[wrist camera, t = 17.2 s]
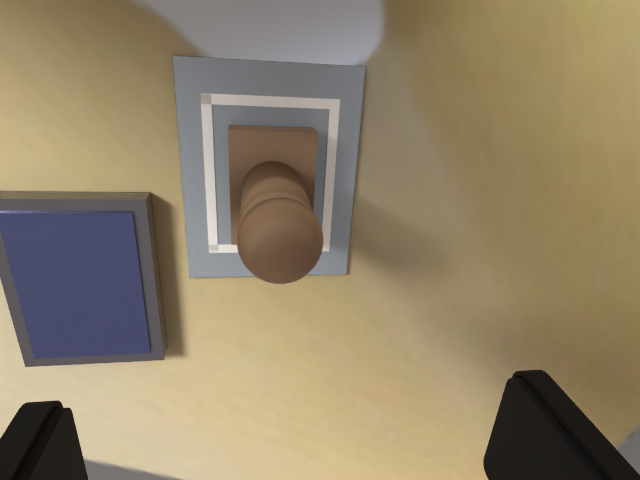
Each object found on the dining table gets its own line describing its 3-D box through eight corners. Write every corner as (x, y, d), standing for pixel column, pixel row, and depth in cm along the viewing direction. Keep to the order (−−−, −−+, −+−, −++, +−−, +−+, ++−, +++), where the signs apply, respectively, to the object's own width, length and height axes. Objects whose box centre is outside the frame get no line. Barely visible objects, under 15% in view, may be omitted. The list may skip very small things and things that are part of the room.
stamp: (229, 122, 26) (215, 174, 15) (312, 125, 26) (351, 176, 16) (232, 230, 28) (222, 334, 18) (307, 230, 29) (338, 329, 19)
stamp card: (173, 55, 24) (172, 55, 24) (364, 66, 26) (365, 66, 25) (190, 275, 30) (189, 278, 29) (345, 272, 31) (346, 274, 31)
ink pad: (-9, 191, 25) (-24, 199, 24) (150, 192, 27) (144, 200, 25) (34, 353, 30) (23, 368, 29) (167, 347, 32) (163, 361, 30)
